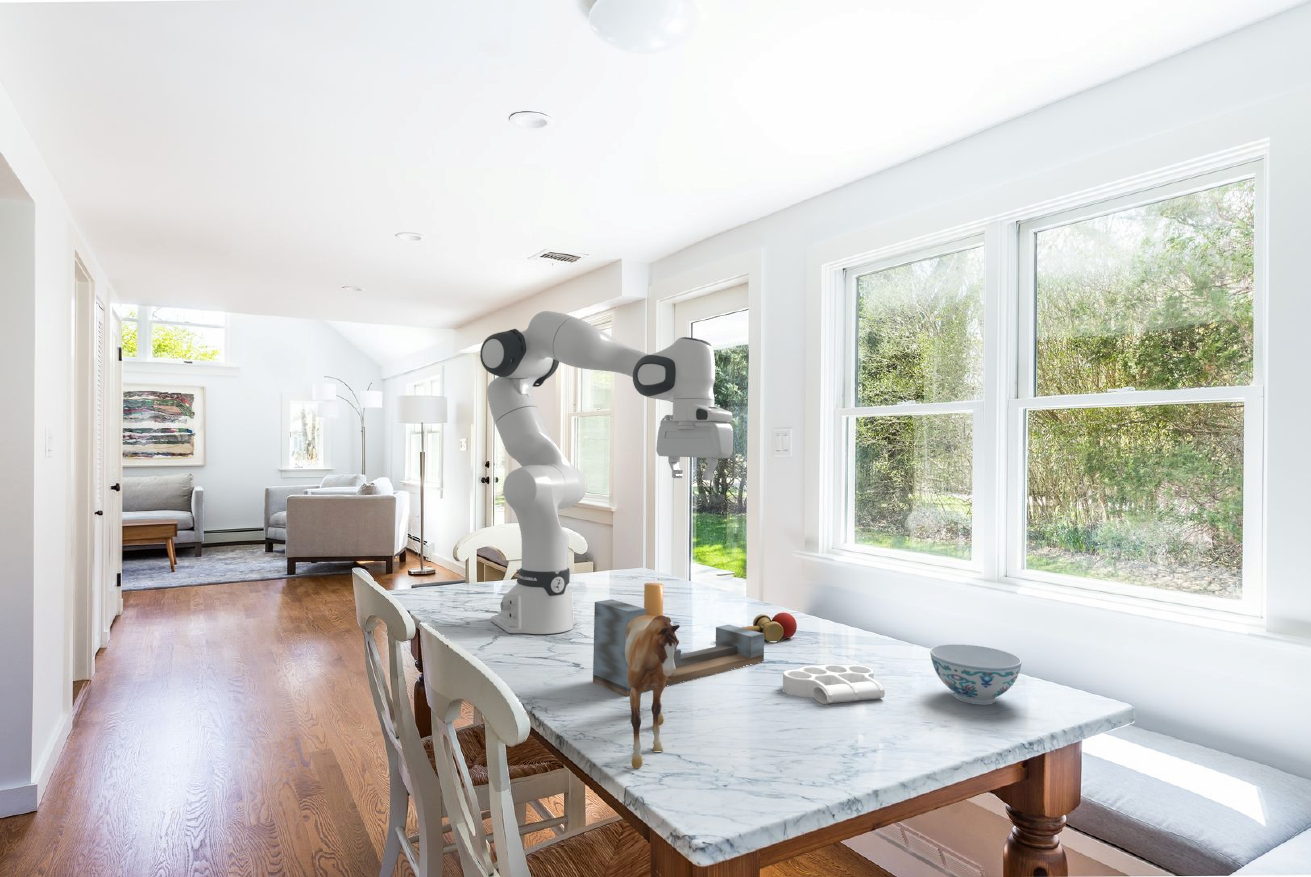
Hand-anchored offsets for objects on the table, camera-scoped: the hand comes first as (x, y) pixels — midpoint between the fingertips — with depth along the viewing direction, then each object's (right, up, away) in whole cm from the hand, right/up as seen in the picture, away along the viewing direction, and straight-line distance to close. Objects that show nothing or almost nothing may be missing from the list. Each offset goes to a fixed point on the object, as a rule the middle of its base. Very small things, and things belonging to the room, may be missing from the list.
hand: (692, 479), depth 158 cm
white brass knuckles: (+25, -38, -22) cm, 50 cm away
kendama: (+16, -38, +14) cm, 44 cm away
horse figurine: (-6, -36, -46) cm, 59 cm away
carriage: (-8, -33, -18) cm, 39 cm away
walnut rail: (-2, -37, -13) cm, 39 cm away
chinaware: (+49, -38, -25) cm, 67 cm away
